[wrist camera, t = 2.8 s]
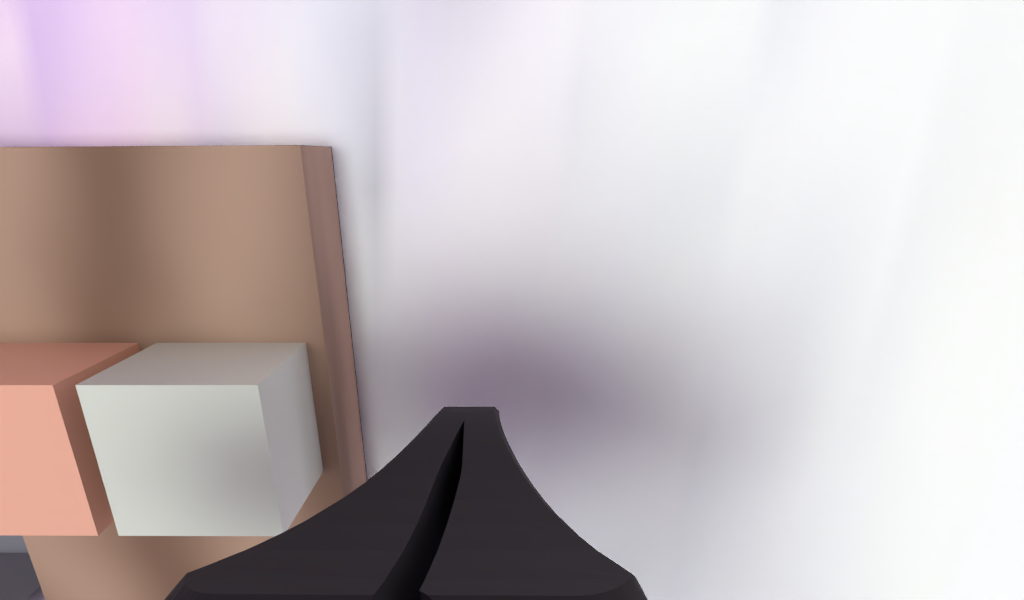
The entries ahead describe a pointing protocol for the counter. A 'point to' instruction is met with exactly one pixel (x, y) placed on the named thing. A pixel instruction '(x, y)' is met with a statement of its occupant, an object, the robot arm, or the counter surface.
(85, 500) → the terracotta tile
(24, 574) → the tray
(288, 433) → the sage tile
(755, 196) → the counter surface
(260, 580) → the robot arm
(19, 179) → the walnut board
